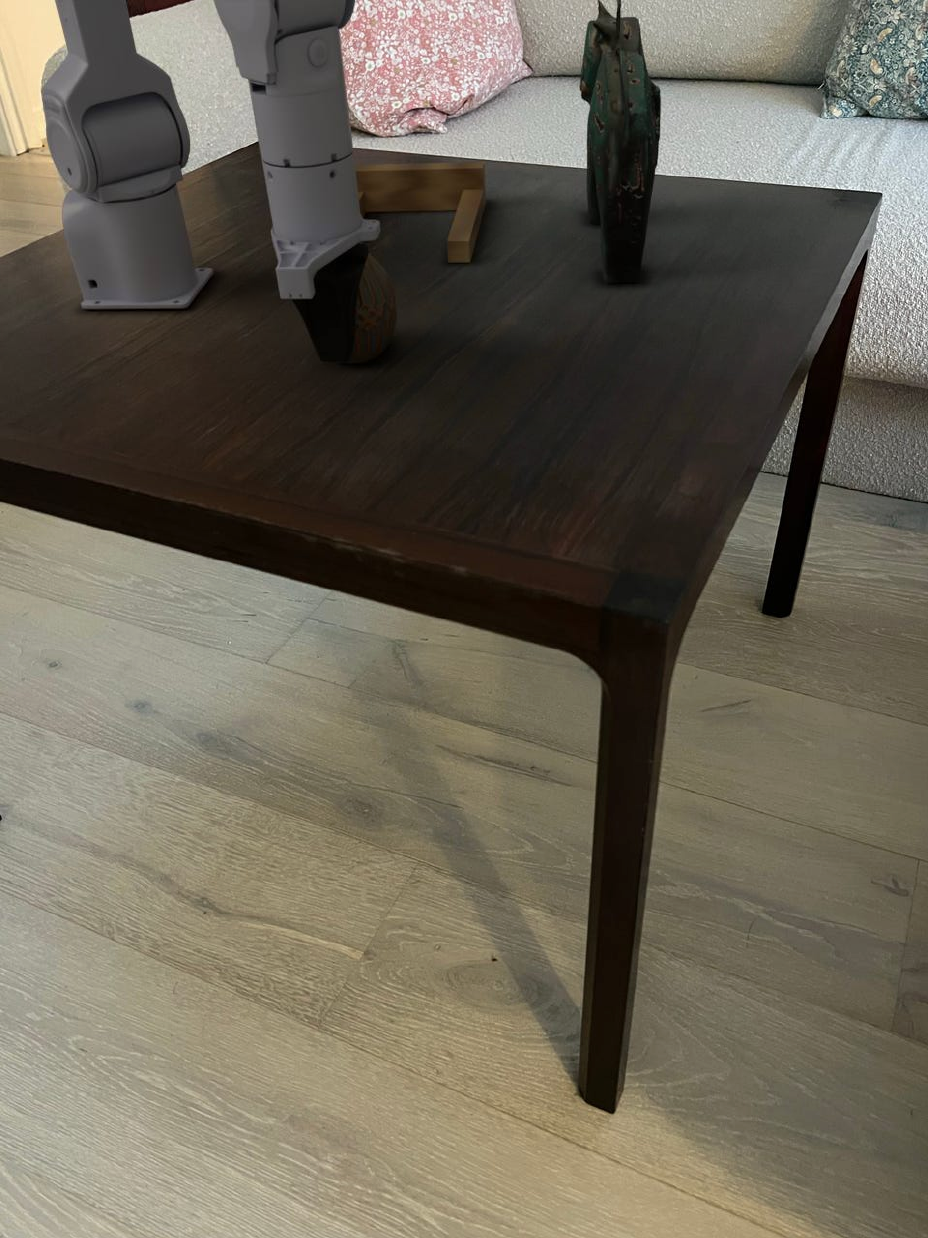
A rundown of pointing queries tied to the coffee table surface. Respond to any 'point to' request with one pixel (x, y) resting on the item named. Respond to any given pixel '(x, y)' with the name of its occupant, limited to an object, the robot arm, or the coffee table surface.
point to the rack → (429, 196)
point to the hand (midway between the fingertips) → (336, 357)
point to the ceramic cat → (619, 140)
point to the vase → (373, 313)
